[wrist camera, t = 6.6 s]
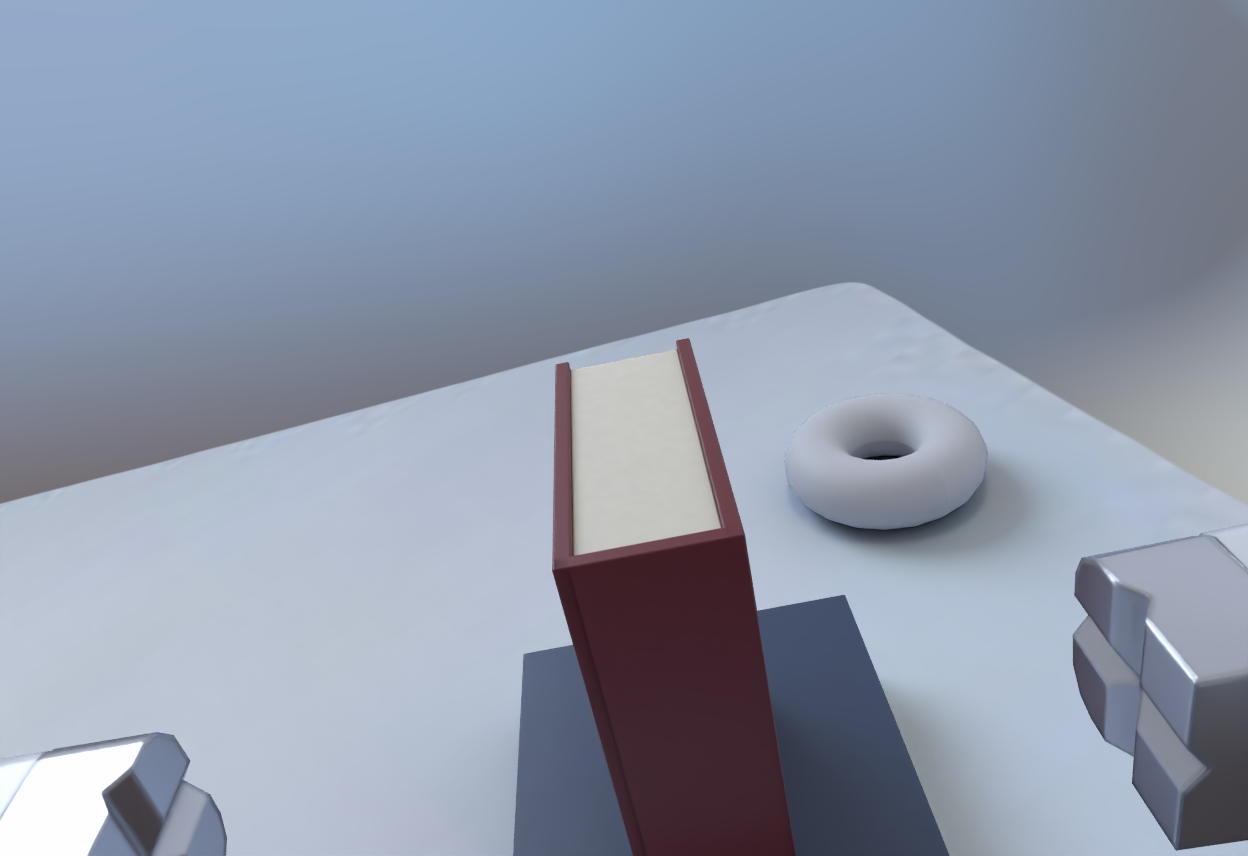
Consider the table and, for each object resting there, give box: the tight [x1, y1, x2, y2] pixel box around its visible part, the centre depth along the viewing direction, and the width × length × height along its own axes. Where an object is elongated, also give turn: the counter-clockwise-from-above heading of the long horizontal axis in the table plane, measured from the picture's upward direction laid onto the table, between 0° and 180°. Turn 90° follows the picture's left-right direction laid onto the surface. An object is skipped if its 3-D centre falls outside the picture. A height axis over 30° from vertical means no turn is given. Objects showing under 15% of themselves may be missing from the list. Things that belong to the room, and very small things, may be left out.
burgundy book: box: [552, 338, 796, 856], centre depth 28 cm, size 4×10×14 cm, turn 3°
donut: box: [784, 394, 988, 530], centre depth 50 cm, size 10×4×10 cm
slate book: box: [513, 595, 949, 856], centre depth 32 cm, size 13×18×4 cm
